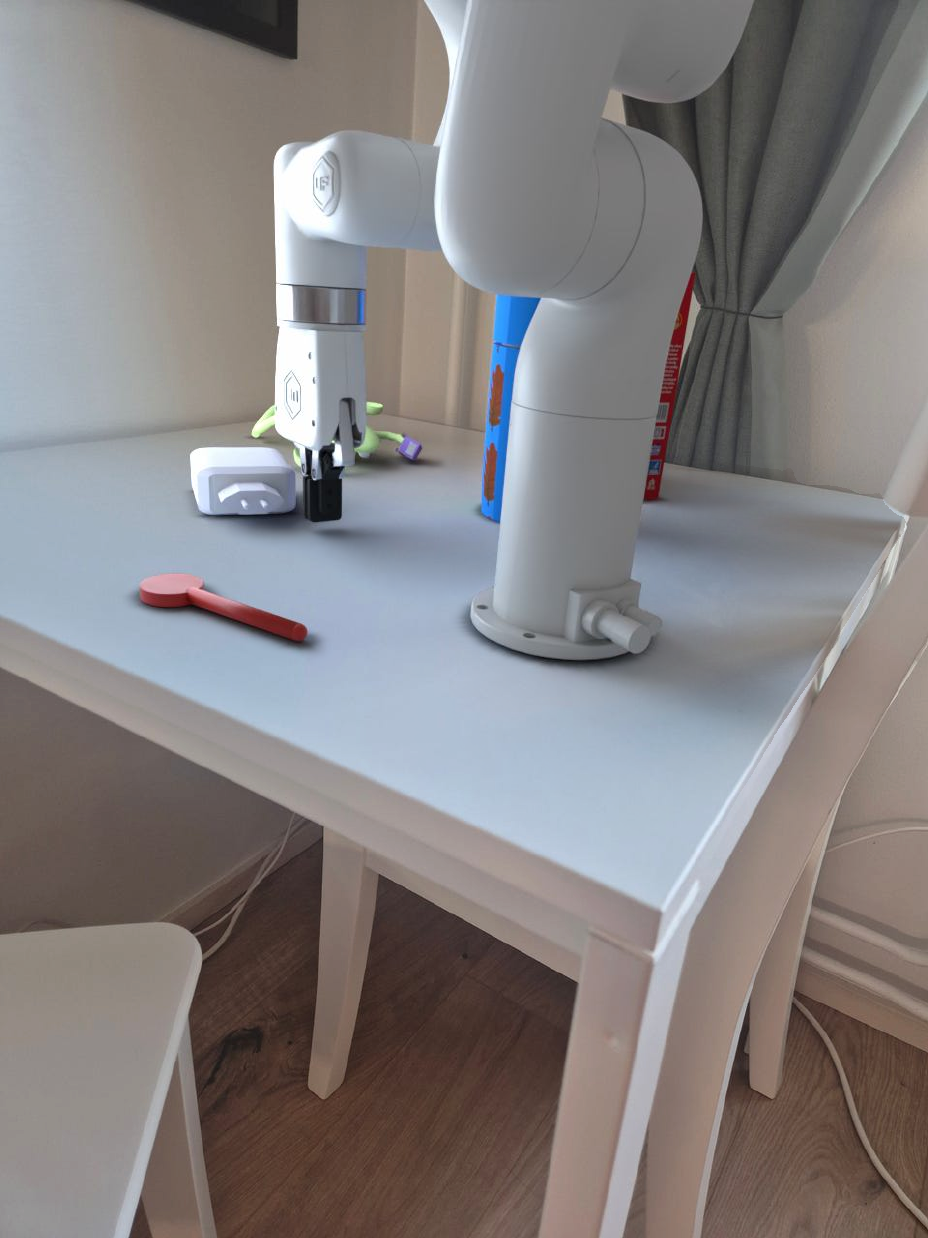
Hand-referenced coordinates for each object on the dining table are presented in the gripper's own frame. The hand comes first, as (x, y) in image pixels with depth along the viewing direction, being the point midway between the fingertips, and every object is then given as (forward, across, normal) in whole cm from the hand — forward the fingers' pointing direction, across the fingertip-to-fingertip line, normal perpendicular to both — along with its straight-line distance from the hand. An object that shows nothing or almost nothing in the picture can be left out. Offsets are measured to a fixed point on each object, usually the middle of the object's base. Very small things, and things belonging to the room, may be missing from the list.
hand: (322, 518), depth 78 cm
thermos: (+1, +2, +23) cm, 23 cm away
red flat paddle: (+1, +16, -15) cm, 22 cm away
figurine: (+1, -33, +17) cm, 37 cm away
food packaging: (+1, -6, +41) cm, 41 cm away
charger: (+1, -8, -4) cm, 10 cm away
